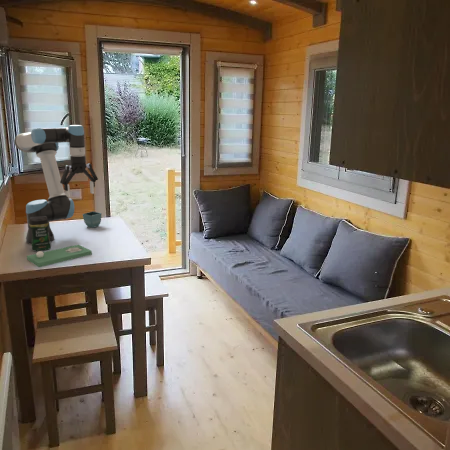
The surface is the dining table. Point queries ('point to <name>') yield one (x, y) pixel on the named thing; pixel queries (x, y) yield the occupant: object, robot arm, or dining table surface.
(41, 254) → the ball
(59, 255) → the mat
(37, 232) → the coffee jar
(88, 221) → the flower pot
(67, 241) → the dining table surface
